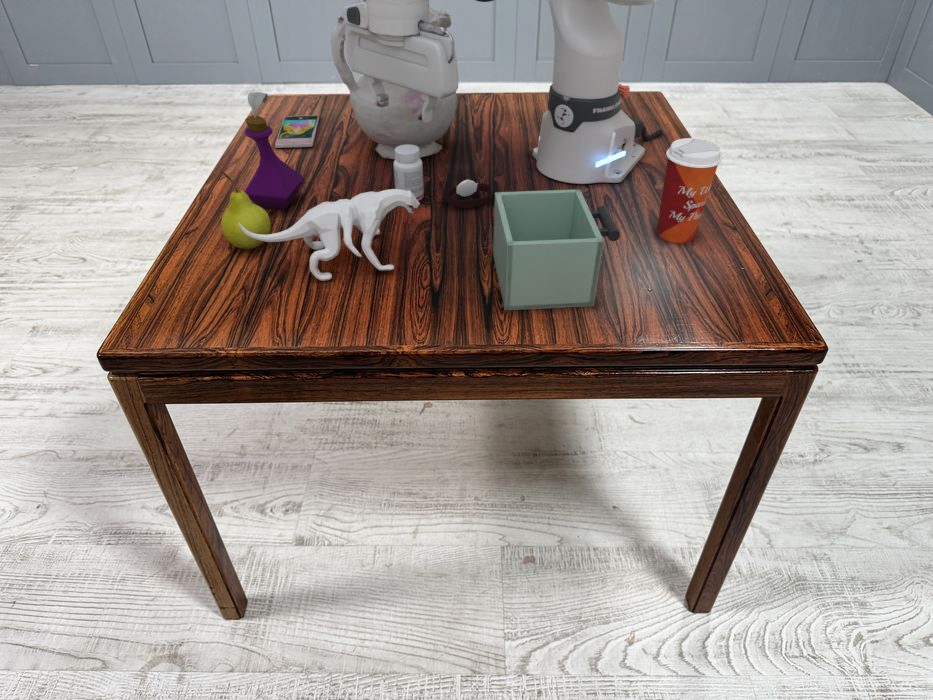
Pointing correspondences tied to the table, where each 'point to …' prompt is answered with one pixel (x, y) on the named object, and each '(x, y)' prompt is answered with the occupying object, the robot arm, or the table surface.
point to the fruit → (244, 220)
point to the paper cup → (686, 187)
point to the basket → (548, 248)
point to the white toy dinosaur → (343, 225)
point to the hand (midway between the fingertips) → (403, 113)
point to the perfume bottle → (269, 165)
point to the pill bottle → (409, 170)
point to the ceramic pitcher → (394, 104)
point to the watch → (468, 194)
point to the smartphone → (297, 131)
